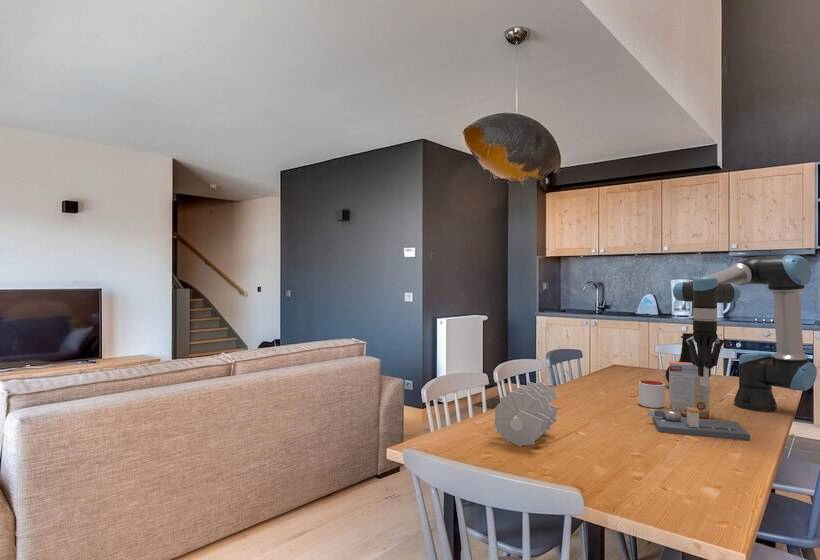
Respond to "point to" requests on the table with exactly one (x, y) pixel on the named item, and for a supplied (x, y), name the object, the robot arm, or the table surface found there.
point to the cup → (652, 394)
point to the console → (703, 428)
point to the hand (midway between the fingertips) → (704, 385)
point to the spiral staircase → (526, 413)
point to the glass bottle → (683, 352)
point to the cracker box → (687, 389)
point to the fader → (692, 417)
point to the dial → (666, 414)
